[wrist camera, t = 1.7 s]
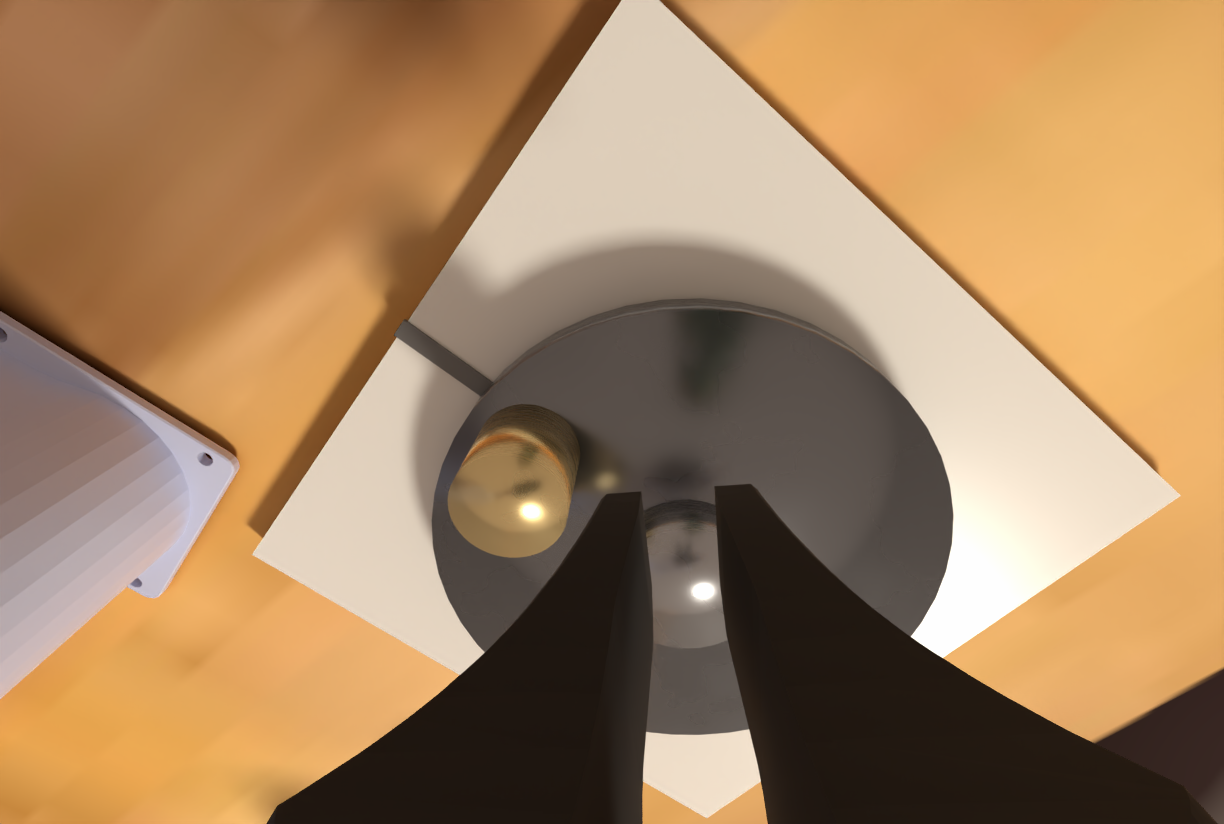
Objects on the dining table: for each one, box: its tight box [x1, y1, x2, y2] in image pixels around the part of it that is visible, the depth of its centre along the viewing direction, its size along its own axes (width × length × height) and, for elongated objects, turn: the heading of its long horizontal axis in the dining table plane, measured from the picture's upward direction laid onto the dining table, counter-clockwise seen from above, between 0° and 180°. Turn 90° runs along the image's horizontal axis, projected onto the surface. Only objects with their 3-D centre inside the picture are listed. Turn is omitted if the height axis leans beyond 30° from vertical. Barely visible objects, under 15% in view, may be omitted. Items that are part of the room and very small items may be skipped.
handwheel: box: [432, 298, 954, 735], centre depth 19 cm, size 16×16×4 cm
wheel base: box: [252, 0, 1181, 818], centre depth 21 cm, size 22×22×1 cm
